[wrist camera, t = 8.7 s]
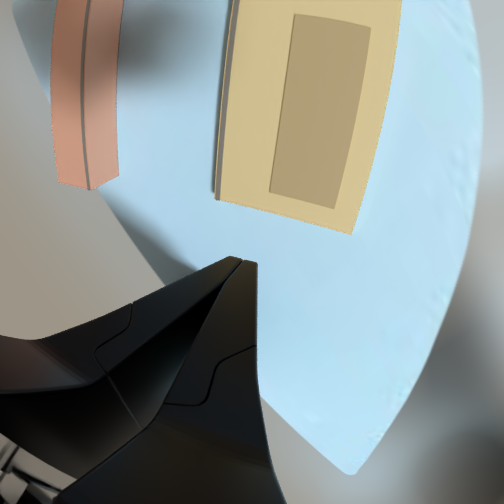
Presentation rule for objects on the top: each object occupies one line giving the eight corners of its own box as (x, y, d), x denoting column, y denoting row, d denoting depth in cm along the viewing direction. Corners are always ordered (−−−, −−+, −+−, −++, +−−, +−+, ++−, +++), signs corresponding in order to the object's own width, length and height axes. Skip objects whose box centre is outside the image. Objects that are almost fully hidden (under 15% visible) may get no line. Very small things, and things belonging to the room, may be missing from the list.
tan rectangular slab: (351, 230, 19) (351, 235, 19) (217, 195, 21) (213, 199, 21) (401, -20, 9) (403, -24, 8) (243, -40, 11) (239, -43, 10)
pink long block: (119, 175, 23) (91, 190, 20) (84, 169, 24) (58, 182, 21) (127, -19, 13) (95, -25, 10) (87, -5, 14) (57, -6, 11)
